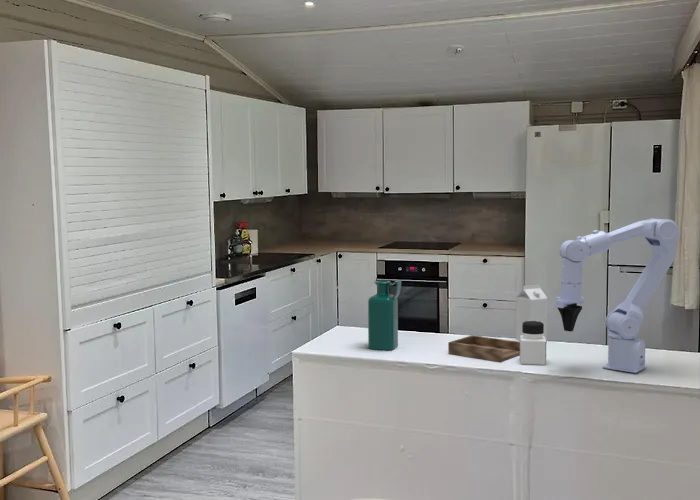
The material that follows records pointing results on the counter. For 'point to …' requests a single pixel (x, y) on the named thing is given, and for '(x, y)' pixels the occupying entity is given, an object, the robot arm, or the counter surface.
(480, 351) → the wooden tray
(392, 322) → the pitcher
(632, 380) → the counter surface
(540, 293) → the milk carton
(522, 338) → the medicine bottle
